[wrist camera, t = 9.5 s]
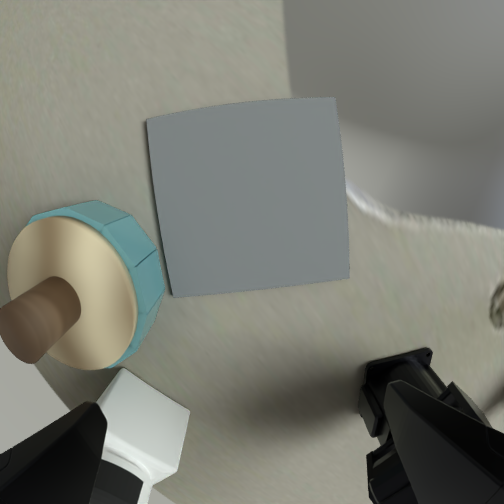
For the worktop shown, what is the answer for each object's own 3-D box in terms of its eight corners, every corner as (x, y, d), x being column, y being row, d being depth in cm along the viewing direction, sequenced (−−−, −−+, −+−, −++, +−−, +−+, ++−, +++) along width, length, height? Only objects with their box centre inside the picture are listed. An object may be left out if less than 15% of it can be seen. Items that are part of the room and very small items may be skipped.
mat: (333, 98, 17) (335, 97, 16) (347, 276, 20) (349, 278, 19) (148, 120, 17) (146, 119, 16) (175, 295, 20) (173, 297, 20)
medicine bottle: (95, 402, 23) (46, 491, 11) (123, 364, 22) (62, 473, 10) (155, 440, 24) (127, 535, 13) (192, 409, 23) (168, 526, 11)
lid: (116, 200, 14) (57, 216, 9) (157, 362, 17) (130, 424, 11) (2, 230, 15) (-53, 250, 9) (44, 358, 17) (6, 399, 12)
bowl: (147, 189, 18) (122, 194, 14) (177, 337, 21) (163, 369, 17) (31, 216, 18) (-2, 225, 14) (65, 338, 21) (42, 362, 17)
